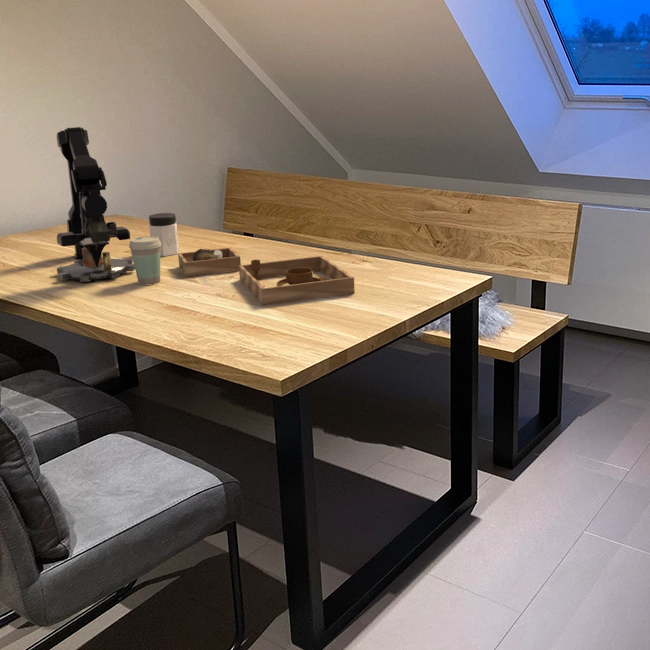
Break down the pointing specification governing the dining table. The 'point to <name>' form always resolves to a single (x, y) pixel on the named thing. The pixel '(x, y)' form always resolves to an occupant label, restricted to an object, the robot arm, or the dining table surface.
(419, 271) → the dining table surface
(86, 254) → the link block
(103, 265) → the sprocket
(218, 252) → the eagle figurine
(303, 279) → the place setting
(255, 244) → the dining table surface
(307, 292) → the saucer tray frame
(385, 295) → the dining table surface
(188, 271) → the open wooden box
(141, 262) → the coffee cup
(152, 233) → the jar
